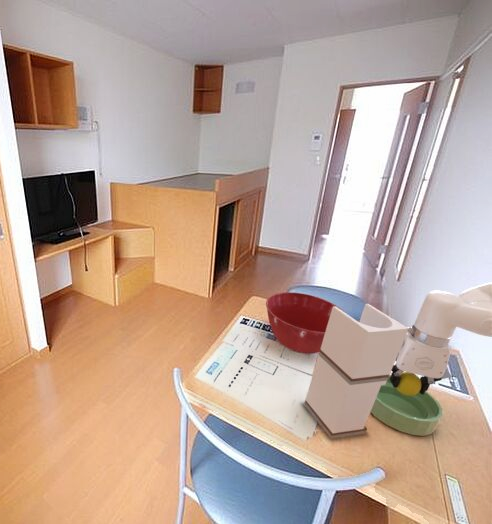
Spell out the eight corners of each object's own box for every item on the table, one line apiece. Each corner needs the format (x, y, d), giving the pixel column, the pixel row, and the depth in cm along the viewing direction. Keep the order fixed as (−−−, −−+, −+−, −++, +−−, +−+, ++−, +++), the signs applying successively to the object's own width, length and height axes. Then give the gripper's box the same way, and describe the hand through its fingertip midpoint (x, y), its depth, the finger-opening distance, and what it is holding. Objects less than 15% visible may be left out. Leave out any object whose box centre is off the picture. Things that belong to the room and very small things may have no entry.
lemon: (387, 387, 92) (395, 366, 89) (405, 387, 92) (415, 366, 89) (400, 401, 87) (410, 380, 84) (420, 402, 87) (431, 380, 84)
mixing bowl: (348, 375, 105) (360, 338, 99) (260, 357, 113) (267, 322, 108) (329, 330, 130) (339, 298, 124) (259, 318, 138) (265, 287, 132)
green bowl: (420, 398, 96) (427, 384, 94) (446, 446, 81) (455, 430, 79) (355, 381, 103) (360, 367, 100) (368, 423, 88) (374, 408, 85)
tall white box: (364, 433, 85) (408, 328, 71) (330, 438, 83) (368, 332, 70) (334, 400, 95) (368, 303, 81) (304, 404, 93) (332, 306, 80)
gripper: (395, 335, 81) (374, 387, 88) (479, 352, 75) (450, 407, 82) (386, 321, 88) (368, 370, 95) (464, 336, 82) (438, 387, 88)
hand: (406, 387), depth 88 cm, fingers closed on lemon, 5 cm apart
